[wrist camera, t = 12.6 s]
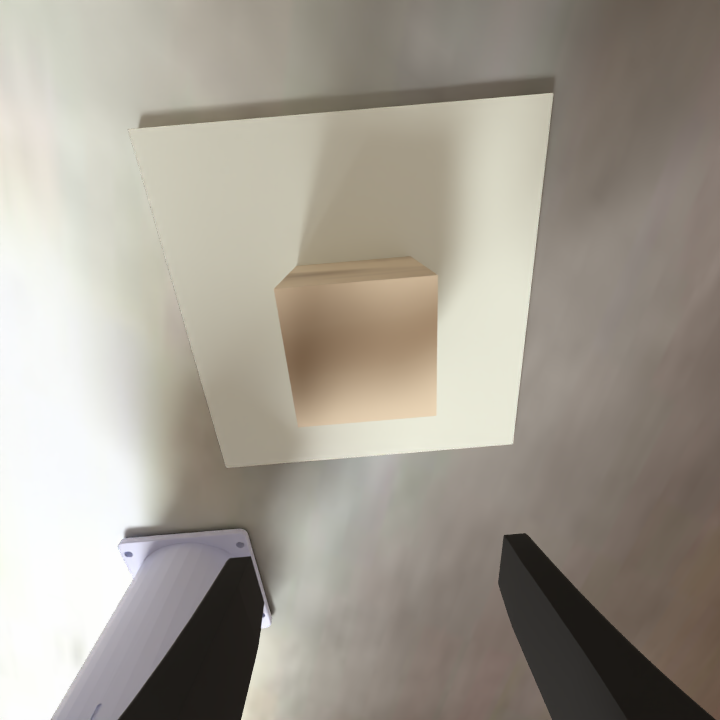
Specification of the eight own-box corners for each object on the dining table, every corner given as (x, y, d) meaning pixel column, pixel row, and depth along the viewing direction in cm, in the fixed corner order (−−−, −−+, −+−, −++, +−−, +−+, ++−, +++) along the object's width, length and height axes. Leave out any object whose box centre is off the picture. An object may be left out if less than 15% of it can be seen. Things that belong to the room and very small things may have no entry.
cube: (412, 361, 17) (436, 415, 12) (311, 369, 17) (298, 427, 12) (410, 256, 15) (438, 274, 10) (296, 265, 15) (273, 288, 10)
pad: (508, 437, 20) (512, 444, 19) (229, 460, 20) (226, 468, 19) (545, 97, 13) (553, 92, 13) (136, 132, 14) (127, 129, 13)
